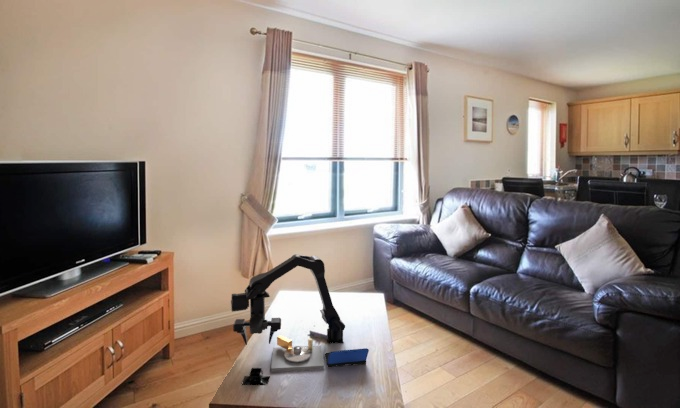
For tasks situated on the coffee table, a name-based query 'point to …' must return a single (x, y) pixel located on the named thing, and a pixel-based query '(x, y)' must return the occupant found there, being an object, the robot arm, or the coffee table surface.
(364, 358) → the handheld game console
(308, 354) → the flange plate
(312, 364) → the base plate
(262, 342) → the coffee table surface
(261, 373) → the black angular piece
